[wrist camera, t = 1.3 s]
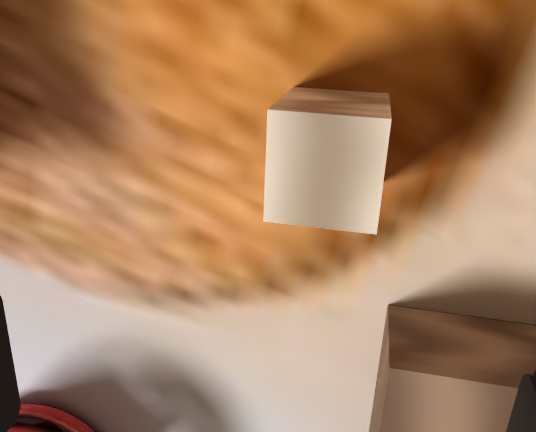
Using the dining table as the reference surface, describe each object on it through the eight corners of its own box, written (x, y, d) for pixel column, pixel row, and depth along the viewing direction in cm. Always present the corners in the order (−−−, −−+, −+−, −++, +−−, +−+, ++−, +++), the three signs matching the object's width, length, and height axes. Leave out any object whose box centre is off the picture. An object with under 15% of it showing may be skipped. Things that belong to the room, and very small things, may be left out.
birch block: (389, 93, 27) (391, 119, 20) (377, 184, 28) (376, 234, 22) (293, 86, 27) (267, 109, 21) (288, 175, 29) (263, 221, 23)
